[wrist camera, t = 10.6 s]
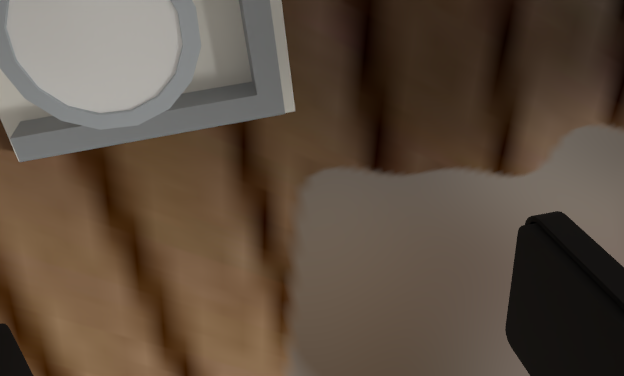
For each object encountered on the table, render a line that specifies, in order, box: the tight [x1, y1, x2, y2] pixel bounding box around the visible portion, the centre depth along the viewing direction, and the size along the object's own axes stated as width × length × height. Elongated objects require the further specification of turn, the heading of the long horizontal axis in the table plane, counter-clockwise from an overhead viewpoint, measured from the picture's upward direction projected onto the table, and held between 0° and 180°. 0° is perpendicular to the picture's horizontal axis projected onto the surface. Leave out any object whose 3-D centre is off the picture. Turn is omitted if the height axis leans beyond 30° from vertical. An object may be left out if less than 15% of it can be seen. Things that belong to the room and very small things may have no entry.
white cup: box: [0, 0, 201, 130], centre depth 21 cm, size 7×7×7 cm
